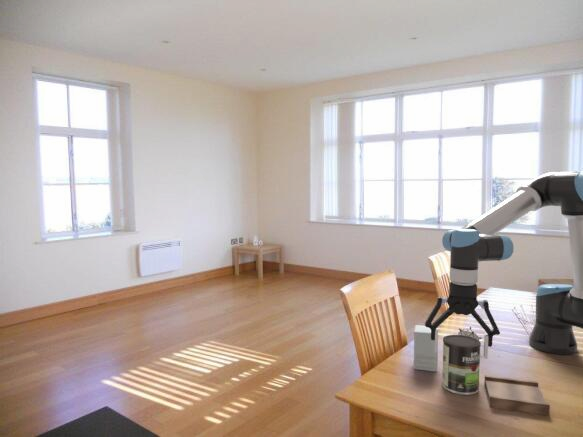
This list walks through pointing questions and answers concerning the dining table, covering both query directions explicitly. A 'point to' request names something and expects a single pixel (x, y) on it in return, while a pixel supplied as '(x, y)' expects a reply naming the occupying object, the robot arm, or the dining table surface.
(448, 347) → the coffee can
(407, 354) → the dining table surface
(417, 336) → the supplement box
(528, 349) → the dining table surface
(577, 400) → the dining table surface
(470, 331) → the spiky polyhedron ball
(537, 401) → the board
